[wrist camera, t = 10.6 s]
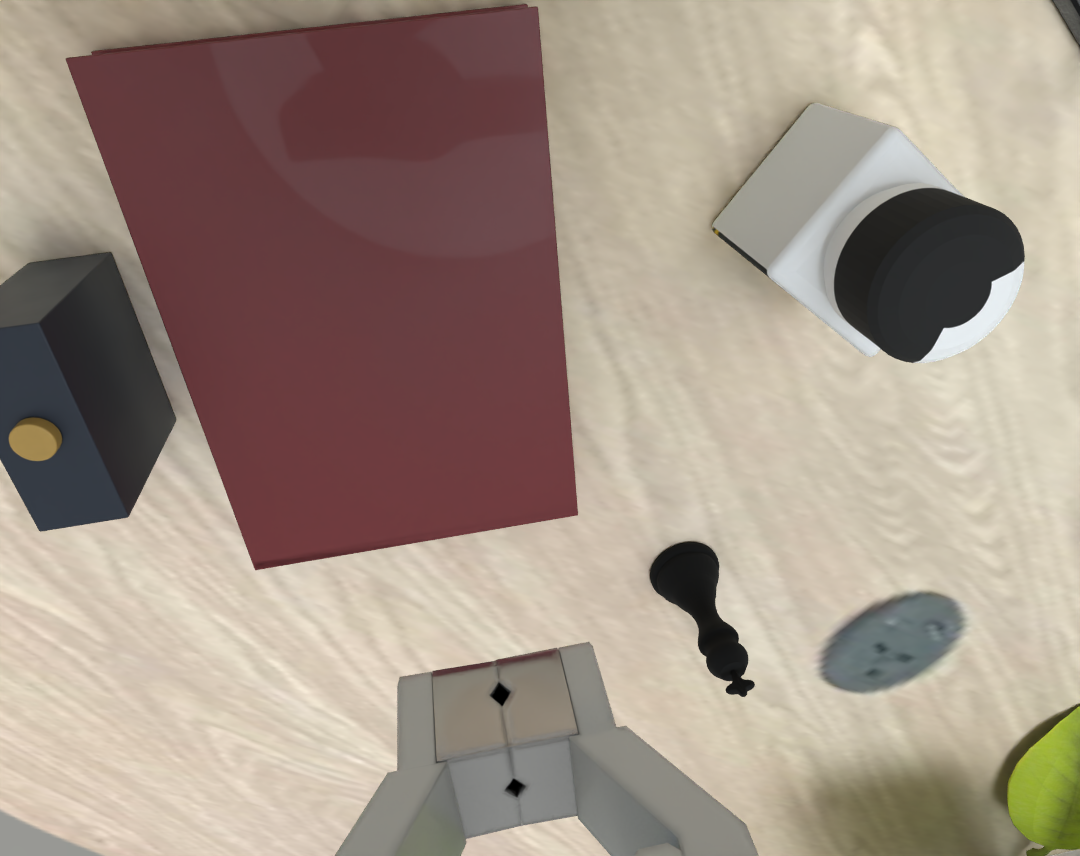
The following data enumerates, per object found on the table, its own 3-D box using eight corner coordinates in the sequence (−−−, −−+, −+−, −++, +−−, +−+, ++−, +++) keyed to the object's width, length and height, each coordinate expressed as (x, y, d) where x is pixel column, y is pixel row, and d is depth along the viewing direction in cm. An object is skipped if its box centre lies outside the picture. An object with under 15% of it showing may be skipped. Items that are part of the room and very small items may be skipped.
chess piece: (719, 585, 50) (785, 712, 41) (653, 602, 50) (706, 733, 41) (715, 534, 47) (784, 656, 39) (645, 551, 47) (700, 678, 39)
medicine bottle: (706, 226, 37) (823, 321, 27) (811, 97, 35) (982, 149, 25) (801, 303, 40) (939, 415, 30) (903, 190, 38) (1090, 269, 28)
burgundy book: (93, 51, 30) (64, 58, 27) (526, 3, 31) (538, 6, 29) (263, 534, 42) (255, 570, 40) (567, 483, 44) (578, 515, 41)
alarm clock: (69, 247, 35) (-137, 323, 28) (184, 259, 32) (-18, 346, 25) (137, 411, 39) (-28, 508, 33) (244, 436, 36) (85, 547, 30)
